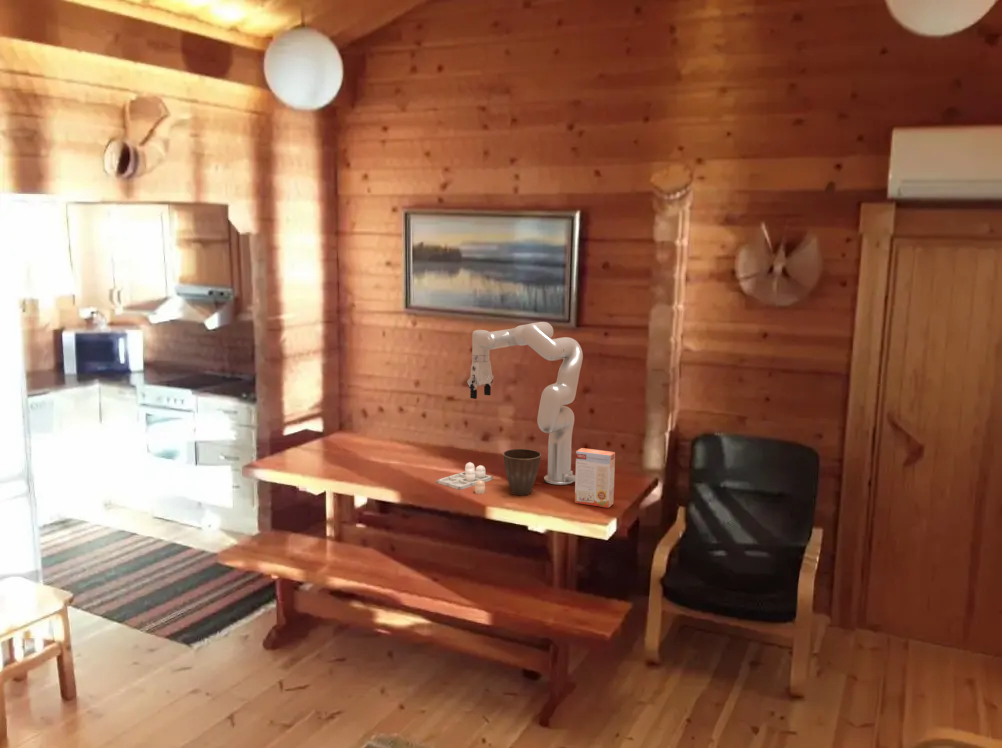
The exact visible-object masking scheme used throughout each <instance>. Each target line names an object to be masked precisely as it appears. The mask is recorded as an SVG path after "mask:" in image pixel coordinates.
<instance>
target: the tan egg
mask: <svg viewBox="0 0 1002 748" xmlns="http://www.w3.org/2000/svg"><path fill="white" fill-rule="evenodd" d="M474 493H475V494H476V495H484V494H485V493H486V482H484V481H482V480H478V481H476V483H475V485H474Z"/></svg>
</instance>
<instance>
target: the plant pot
mask: <svg viewBox="0 0 1002 748" xmlns="http://www.w3.org/2000/svg"><path fill="white" fill-rule="evenodd" d="M502 456H503V464H504V468H505V474H506V475H505V476H506V478H507V479H506V480H507V482H508V485H509V488H510V491H511V493H512V494H513V495H516V496H528V495H529V494H530V493H531V491H532V489H533V487H534V484H535V482H536V479H537V475H538V471H539V467H540V462H541V458H542V457H541V456H542V454H541V452H539V451H538V450H537V451H536V450H534V449H528V448H527V449H526V448H512V449H508V450H506V451H504V452H503V453H502Z"/></svg>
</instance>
